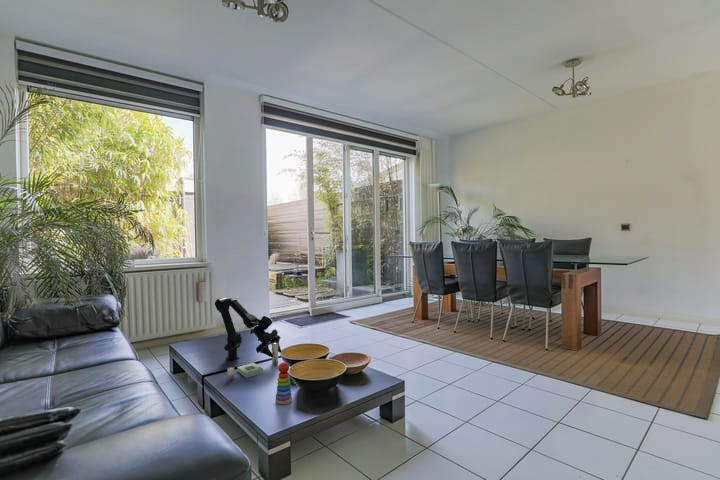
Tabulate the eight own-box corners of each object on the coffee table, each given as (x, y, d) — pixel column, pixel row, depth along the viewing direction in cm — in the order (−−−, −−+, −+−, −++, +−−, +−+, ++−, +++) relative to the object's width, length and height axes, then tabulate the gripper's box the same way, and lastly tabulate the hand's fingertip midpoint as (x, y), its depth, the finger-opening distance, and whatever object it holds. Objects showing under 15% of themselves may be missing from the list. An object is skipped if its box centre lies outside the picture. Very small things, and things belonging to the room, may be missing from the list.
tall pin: (271, 364, 222) (270, 343, 221) (276, 363, 224) (276, 342, 223) (273, 366, 219) (273, 345, 218) (279, 365, 221) (279, 343, 221)
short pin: (226, 379, 202) (226, 368, 201) (232, 377, 204) (232, 366, 204) (229, 381, 199) (228, 370, 199) (235, 379, 201) (235, 368, 201)
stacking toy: (293, 403, 174) (293, 364, 173) (276, 406, 171) (276, 367, 170) (290, 396, 181) (290, 359, 180) (274, 399, 178) (273, 361, 177)
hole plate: (237, 371, 212) (237, 367, 212) (253, 366, 219) (253, 362, 219) (246, 377, 203) (246, 373, 203) (262, 372, 210) (262, 368, 210)
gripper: (259, 330, 213) (276, 351, 210) (277, 322, 231) (293, 341, 227) (248, 342, 216) (264, 363, 213) (267, 333, 234) (282, 352, 230)
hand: (277, 354), depth 221 cm, fingers open, 8 cm apart
